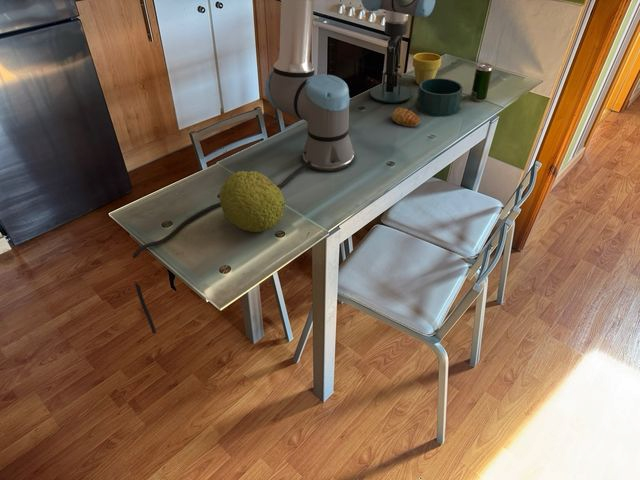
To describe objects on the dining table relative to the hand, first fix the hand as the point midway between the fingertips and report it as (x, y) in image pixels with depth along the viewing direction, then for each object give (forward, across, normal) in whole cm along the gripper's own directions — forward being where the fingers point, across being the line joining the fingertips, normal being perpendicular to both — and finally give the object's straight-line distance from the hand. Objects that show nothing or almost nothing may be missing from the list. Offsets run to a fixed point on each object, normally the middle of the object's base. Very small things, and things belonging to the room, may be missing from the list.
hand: (391, 88), depth 171 cm
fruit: (+3, -85, +14) cm, 86 cm away
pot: (+3, -5, -18) cm, 19 cm away
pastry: (+3, -19, -9) cm, 21 cm away
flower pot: (+3, +16, -10) cm, 19 cm away
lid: (+2, 0, 0) cm, 2 cm away
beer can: (+3, +6, -31) cm, 31 cm away
